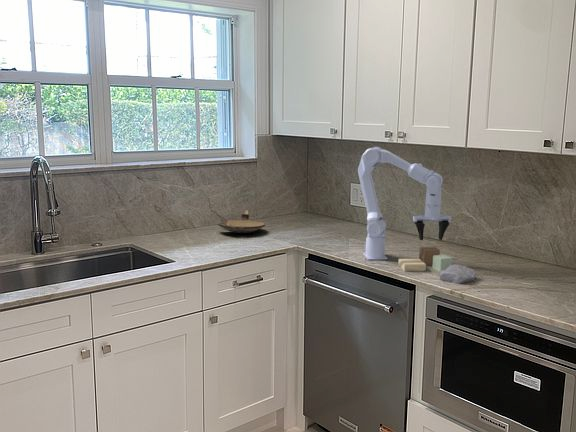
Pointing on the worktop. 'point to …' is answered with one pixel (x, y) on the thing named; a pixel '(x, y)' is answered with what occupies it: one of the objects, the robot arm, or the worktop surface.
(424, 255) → the walnut cube
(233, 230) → the oil lamp
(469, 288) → the worktop surface
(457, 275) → the stone block
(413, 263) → the oak block
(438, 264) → the sage cube
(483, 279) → the worktop surface
